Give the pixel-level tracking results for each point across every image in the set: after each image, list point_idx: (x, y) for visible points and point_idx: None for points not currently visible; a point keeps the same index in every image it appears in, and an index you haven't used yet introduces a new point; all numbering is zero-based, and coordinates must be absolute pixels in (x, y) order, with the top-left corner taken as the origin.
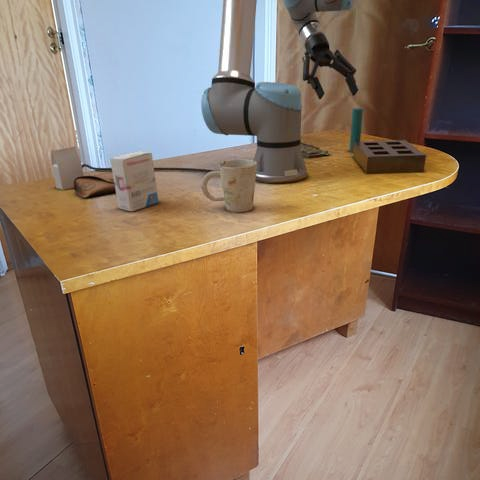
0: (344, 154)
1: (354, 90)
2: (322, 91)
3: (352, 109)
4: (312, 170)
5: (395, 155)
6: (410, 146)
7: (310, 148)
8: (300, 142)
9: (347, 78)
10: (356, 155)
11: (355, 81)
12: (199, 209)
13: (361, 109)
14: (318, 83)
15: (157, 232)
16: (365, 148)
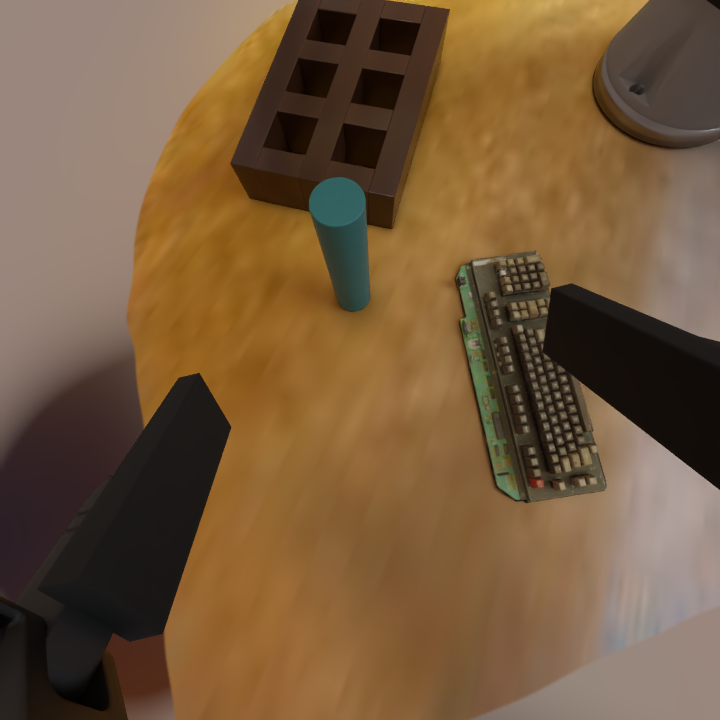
0: (402, 266)
1: (206, 404)
2: (581, 291)
3: (363, 212)
4: (561, 122)
5: (375, 2)
6: (275, 79)
7: (517, 306)
8: (528, 425)
9: (144, 582)
10: (407, 168)
11: (98, 491)
12: None
13: (327, 180)
14: (679, 330)
15: None
16: (408, 94)
